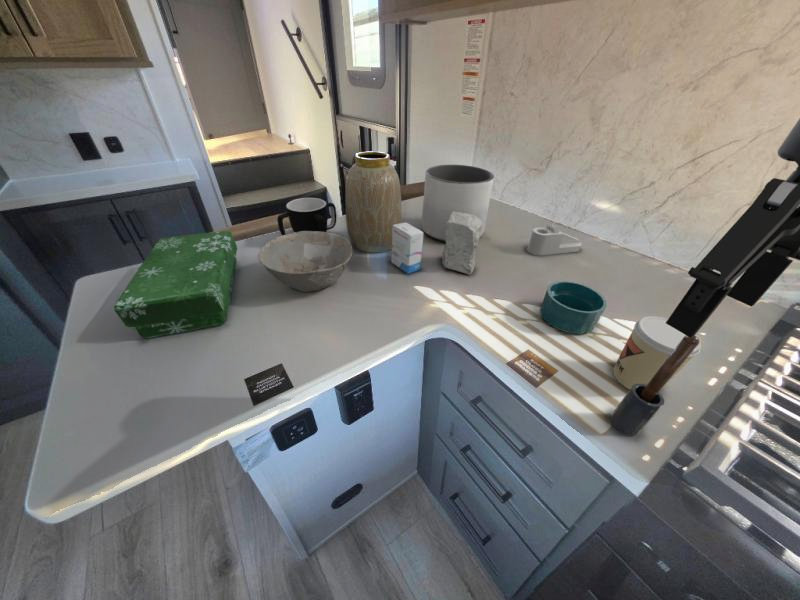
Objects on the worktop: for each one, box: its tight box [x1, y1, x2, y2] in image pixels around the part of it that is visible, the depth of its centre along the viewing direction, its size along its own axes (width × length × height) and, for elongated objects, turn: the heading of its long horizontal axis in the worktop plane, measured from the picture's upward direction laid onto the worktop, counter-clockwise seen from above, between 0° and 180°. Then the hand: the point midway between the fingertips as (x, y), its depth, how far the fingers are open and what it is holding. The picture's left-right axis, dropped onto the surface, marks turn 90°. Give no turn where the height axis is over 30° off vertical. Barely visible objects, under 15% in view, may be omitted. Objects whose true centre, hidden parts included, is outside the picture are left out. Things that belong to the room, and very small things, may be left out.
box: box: [113, 230, 238, 339], centre depth 76 cm, size 32×18×10 cm, turn 17°
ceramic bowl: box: [257, 231, 353, 293], centre depth 81 cm, size 22×23×10 cm
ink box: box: [391, 222, 424, 275], centre depth 89 cm, size 9×5×12 cm, turn 36°
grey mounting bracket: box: [526, 223, 582, 256], centre depth 101 cm, size 6×18×8 cm, turn 103°
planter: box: [421, 164, 495, 243], centre depth 107 cm, size 22×22×20 cm
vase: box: [344, 151, 402, 254], centre depth 96 cm, size 17×17×27 cm
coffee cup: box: [613, 315, 702, 391], centre depth 57 cm, size 9×9×12 cm
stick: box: [639, 335, 700, 403], centre depth 46 cm, size 2×2×20 cm
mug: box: [277, 197, 337, 236], centre depth 101 cm, size 16×16×12 cm
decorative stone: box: [441, 211, 483, 276], centre depth 89 cm, size 10×9×15 cm
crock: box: [609, 384, 665, 437], centre depth 50 cm, size 4×4×8 cm
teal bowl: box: [539, 280, 607, 335], centre depth 73 cm, size 12×12×6 cm
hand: (711, 314), depth 39 cm, fingers open, 13 cm apart
